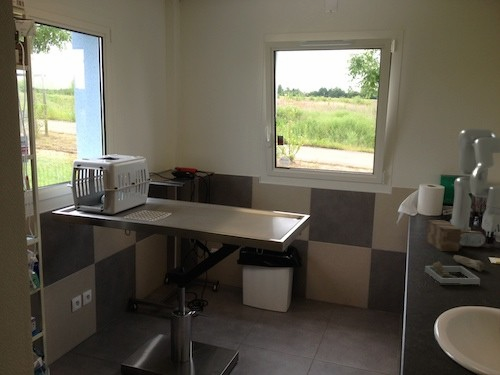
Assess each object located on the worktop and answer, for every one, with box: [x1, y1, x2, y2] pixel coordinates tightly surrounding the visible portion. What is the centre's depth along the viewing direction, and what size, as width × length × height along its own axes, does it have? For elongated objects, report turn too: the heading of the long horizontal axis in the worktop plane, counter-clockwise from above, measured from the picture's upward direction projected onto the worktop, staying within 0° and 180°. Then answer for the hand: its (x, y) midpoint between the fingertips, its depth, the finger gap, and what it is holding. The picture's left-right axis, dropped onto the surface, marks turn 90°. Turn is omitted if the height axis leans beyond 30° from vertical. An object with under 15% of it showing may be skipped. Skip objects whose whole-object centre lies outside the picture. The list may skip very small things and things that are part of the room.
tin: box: [459, 229, 486, 248], centre depth 241 cm, size 15×3×8 cm, turn 84°
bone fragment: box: [452, 254, 486, 272], centre depth 211 cm, size 14×6×5 cm, turn 30°
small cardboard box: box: [425, 219, 463, 252], centre depth 240 cm, size 17×13×12 cm
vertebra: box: [432, 260, 458, 278], centre depth 195 cm, size 12×8×10 cm
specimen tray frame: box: [424, 265, 481, 285], centre depth 195 cm, size 15×17×3 cm
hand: (489, 243), depth 242 cm, fingers closed
